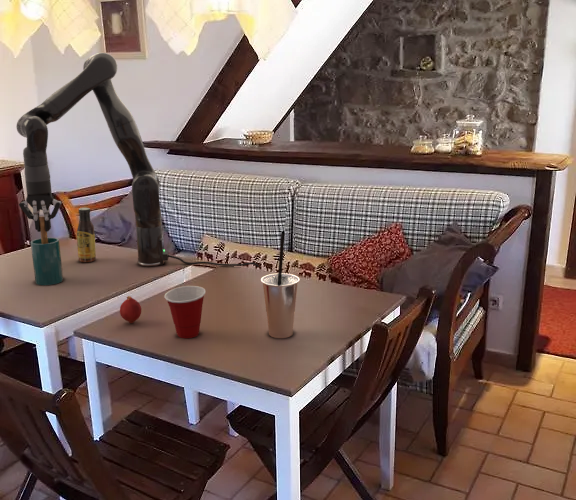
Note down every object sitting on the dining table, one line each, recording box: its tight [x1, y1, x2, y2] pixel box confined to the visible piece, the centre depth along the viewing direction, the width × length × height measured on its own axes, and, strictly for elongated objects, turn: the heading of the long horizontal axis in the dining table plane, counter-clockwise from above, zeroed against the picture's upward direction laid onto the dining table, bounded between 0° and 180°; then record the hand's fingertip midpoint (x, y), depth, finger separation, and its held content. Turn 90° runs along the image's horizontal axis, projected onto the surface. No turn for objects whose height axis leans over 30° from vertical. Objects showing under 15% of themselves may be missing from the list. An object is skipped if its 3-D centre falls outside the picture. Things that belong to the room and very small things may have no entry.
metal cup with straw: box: [260, 230, 301, 339], centre depth 166 cm, size 11×11×30 cm
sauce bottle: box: [76, 207, 97, 263], centre depth 235 cm, size 7×6×20 cm
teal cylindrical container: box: [30, 237, 64, 286], centre depth 213 cm, size 9×9×14 cm
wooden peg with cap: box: [39, 215, 49, 244], centre depth 212 cm, size 5×5×20 cm
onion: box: [119, 295, 142, 324], centre depth 178 cm, size 6×6×8 cm
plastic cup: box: [163, 285, 206, 339], centre depth 169 cm, size 11×11×12 cm
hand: (43, 230), depth 210 cm, fingers closed on wooden peg with cap
